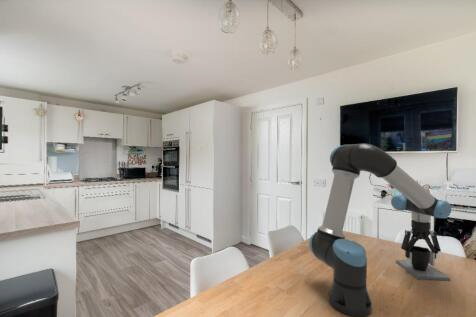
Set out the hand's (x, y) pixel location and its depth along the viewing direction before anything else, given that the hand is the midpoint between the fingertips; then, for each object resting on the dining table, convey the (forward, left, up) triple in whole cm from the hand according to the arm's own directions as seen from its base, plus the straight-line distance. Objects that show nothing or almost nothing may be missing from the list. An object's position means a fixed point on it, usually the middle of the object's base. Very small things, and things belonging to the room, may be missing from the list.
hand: (420, 264), depth 117 cm
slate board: (0, 0, -3) cm, 3 cm away
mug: (0, -1, -2) cm, 2 cm away
